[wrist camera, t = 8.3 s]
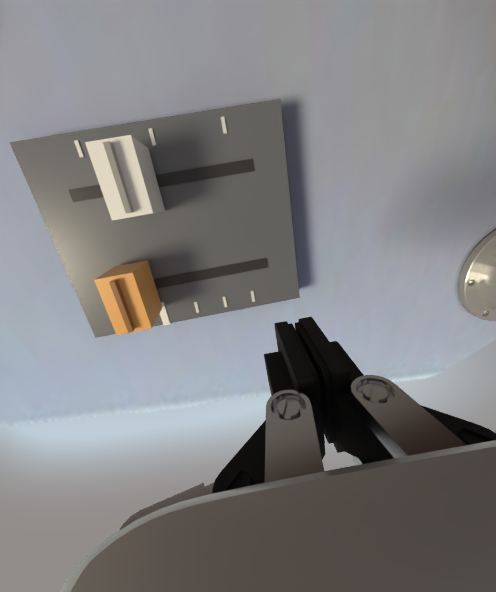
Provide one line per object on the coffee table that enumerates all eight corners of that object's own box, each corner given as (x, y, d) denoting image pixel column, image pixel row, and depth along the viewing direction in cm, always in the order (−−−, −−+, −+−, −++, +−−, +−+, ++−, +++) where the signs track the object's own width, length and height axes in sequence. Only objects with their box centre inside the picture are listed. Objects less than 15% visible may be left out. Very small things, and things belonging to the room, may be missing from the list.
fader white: (148, 148, 21) (127, 132, 16) (165, 211, 23) (151, 213, 18) (111, 154, 21) (80, 140, 16) (131, 217, 23) (108, 221, 18)
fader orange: (147, 260, 24) (130, 274, 19) (162, 307, 26) (149, 331, 21) (115, 266, 24) (90, 282, 19) (133, 313, 26) (113, 338, 21)
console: (274, 108, 23) (280, 98, 21) (293, 291, 30) (300, 298, 28) (30, 148, 22) (8, 142, 20) (105, 327, 29) (95, 339, 27)
